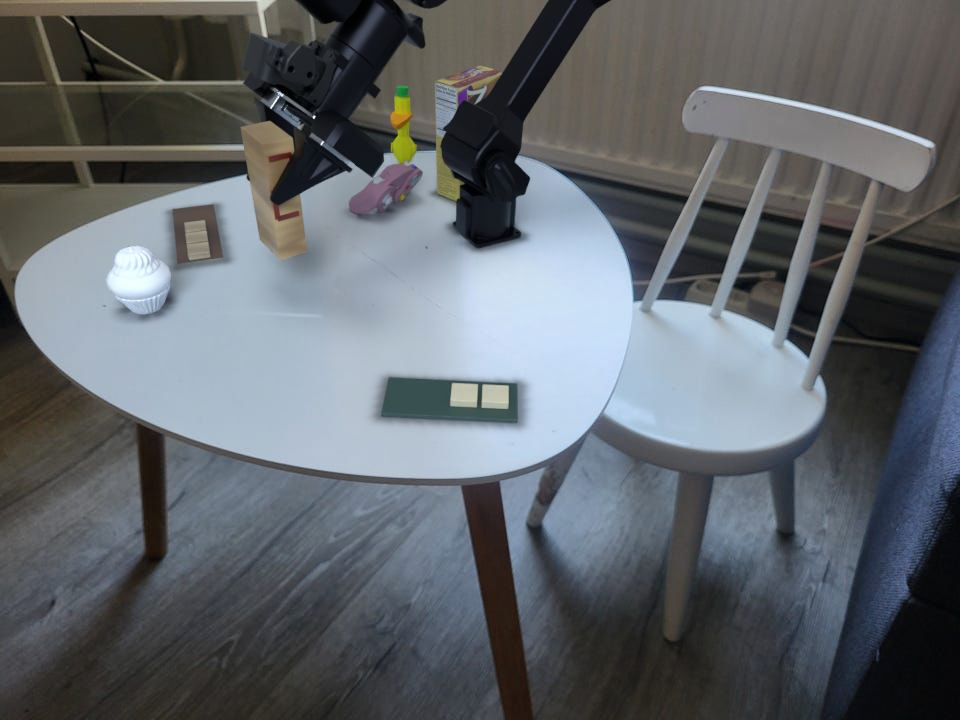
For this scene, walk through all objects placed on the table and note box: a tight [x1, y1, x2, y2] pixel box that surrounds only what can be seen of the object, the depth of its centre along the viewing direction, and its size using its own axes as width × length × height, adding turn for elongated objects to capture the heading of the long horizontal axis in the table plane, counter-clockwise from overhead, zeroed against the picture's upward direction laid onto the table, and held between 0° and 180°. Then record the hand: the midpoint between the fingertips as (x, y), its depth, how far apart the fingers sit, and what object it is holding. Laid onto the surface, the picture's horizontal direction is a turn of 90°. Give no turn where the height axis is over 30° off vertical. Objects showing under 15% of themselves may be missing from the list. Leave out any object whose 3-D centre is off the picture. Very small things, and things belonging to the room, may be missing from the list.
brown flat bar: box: [172, 203, 224, 265], centre depth 90 cm, size 14×5×1 cm, turn 20°
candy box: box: [434, 65, 503, 202], centre depth 98 cm, size 9×4×15 cm, turn 140°
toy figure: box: [389, 85, 418, 164], centre depth 102 cm, size 7×4×12 cm, turn 172°
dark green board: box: [381, 376, 518, 424], centre depth 68 cm, size 12×5×1 cm, turn 88°
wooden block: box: [240, 121, 308, 261], centre depth 73 cm, size 3×5×12 cm, turn 37°
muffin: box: [105, 245, 172, 316], centre depth 76 cm, size 6×6×7 cm
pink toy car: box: [348, 160, 423, 215], centre depth 96 cm, size 10×5×7 cm, turn 148°
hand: (261, 191), depth 72 cm, fingers closed on wooden block, 5 cm apart
